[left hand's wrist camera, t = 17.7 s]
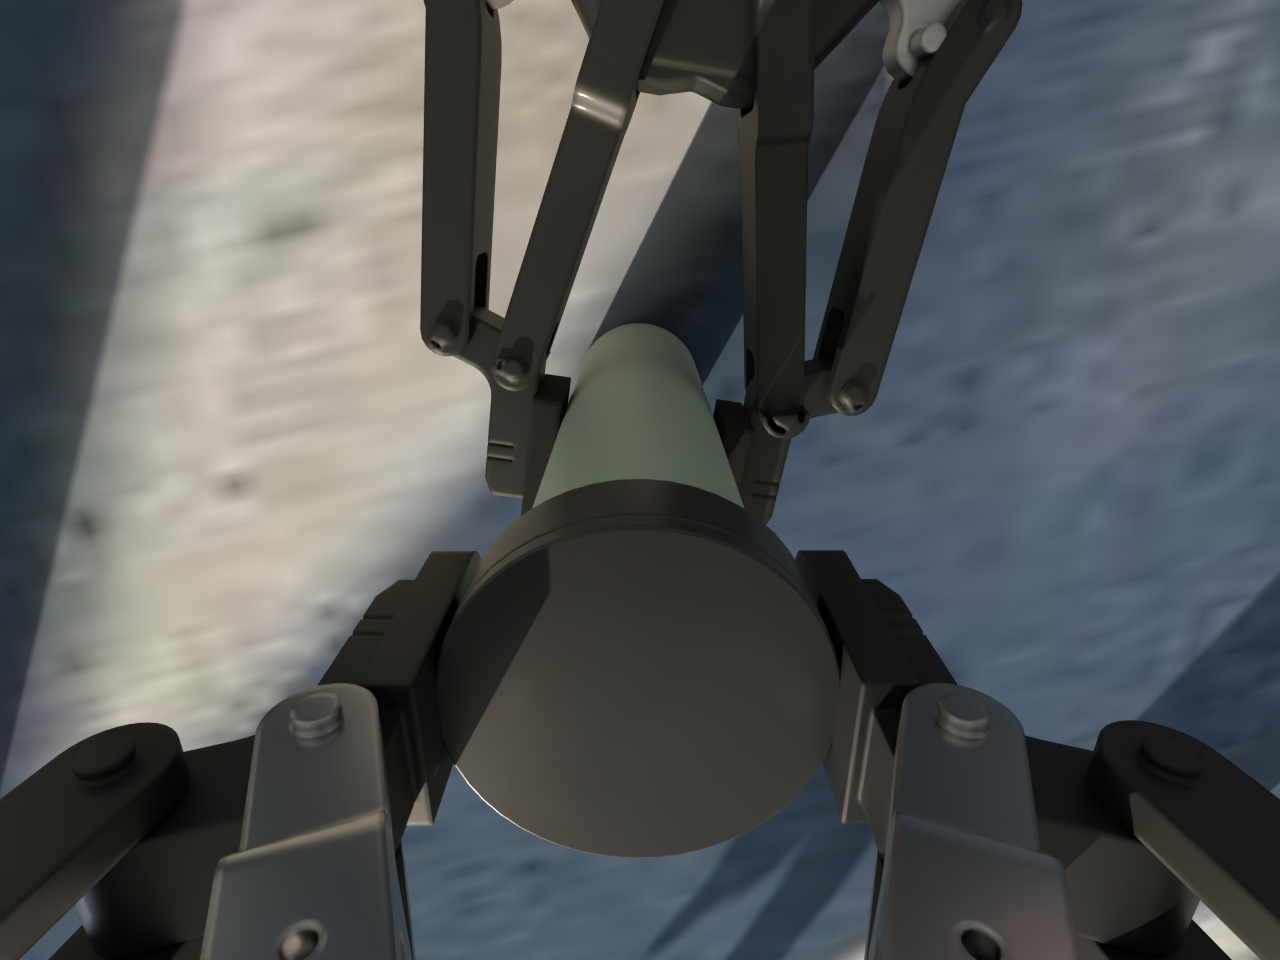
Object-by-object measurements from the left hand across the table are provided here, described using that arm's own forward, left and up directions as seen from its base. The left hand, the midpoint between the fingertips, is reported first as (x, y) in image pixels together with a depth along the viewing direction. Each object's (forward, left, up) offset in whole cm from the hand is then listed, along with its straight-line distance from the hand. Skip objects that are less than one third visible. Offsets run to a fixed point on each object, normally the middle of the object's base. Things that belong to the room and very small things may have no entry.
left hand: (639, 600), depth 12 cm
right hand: (+3, -4, -9) cm, 10 cm away
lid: (0, 0, +3) cm, 3 cm away
